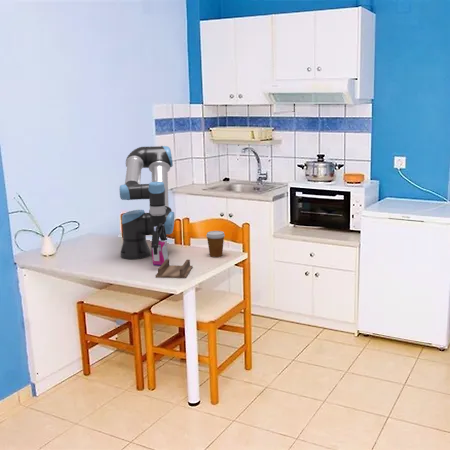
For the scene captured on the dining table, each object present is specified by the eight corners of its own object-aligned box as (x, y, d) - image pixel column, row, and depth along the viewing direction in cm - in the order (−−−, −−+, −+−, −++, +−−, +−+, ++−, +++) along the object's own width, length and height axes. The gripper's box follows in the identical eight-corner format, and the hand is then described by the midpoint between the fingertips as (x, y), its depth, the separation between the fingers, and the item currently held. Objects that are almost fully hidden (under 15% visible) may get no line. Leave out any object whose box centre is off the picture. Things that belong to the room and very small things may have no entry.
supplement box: (158, 262, 279) (156, 239, 277) (168, 263, 277) (167, 240, 275) (152, 265, 274) (150, 242, 272) (162, 266, 272) (161, 243, 269)
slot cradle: (155, 277, 255) (155, 269, 254) (163, 267, 270) (163, 259, 270) (185, 278, 253) (185, 269, 252) (192, 267, 268) (192, 259, 268)
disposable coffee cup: (218, 259, 282) (218, 235, 280) (203, 256, 287) (202, 233, 285) (228, 254, 290) (228, 231, 288) (213, 252, 295) (212, 229, 293)
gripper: (159, 219, 258) (161, 264, 262) (171, 209, 282) (173, 250, 286) (143, 219, 259) (145, 263, 263) (156, 209, 283) (158, 250, 287)
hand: (160, 257), depth 275 cm, fingers open, 13 cm apart
